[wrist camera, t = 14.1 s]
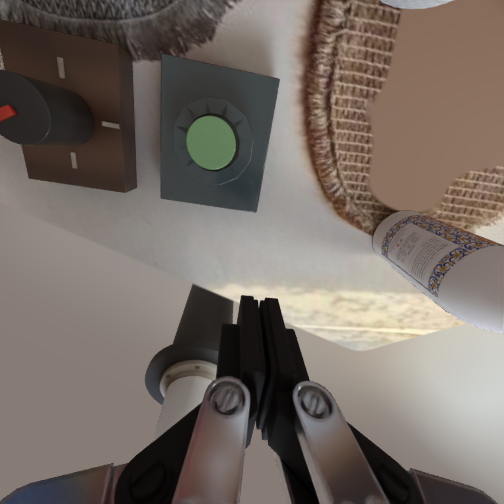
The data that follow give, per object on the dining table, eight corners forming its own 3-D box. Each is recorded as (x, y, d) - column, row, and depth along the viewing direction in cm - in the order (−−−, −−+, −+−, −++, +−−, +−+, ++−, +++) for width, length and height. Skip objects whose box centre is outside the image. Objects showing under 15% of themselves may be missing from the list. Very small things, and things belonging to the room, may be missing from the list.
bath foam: (432, 237, 31) (706, 370, 13) (385, 268, 33) (567, 424, 14) (411, 197, 29) (708, 291, 10) (361, 233, 30) (543, 367, 12)
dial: (73, 79, 20) (13, 56, 15) (104, 134, 22) (61, 131, 16) (29, 99, 20) (-45, 84, 15) (63, 151, 22) (8, 154, 17)
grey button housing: (254, 205, 28) (257, 217, 24) (168, 192, 27) (154, 202, 22) (275, 86, 23) (283, 72, 19) (171, 64, 22) (153, 44, 18)
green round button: (233, 170, 22) (232, 173, 20) (189, 163, 22) (184, 165, 20) (239, 122, 20) (239, 120, 18) (192, 113, 20) (187, 110, 18)
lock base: (137, 187, 27) (124, 193, 24) (50, 174, 26) (27, 178, 23) (132, 56, 22) (116, 43, 19) (25, 33, 21) (-9, 16, 18)
